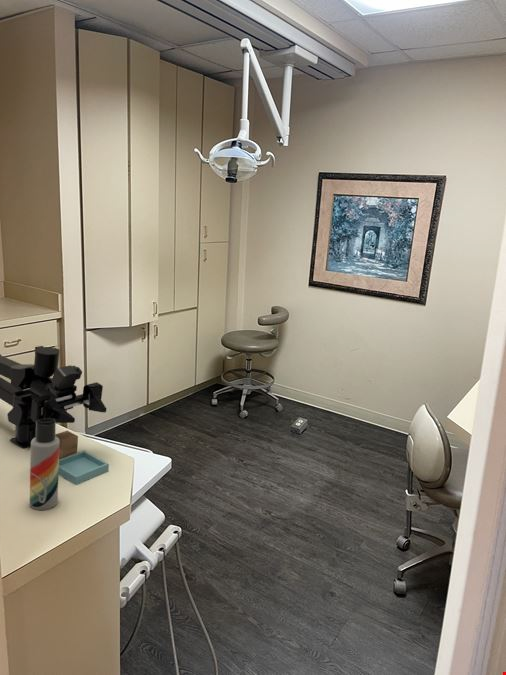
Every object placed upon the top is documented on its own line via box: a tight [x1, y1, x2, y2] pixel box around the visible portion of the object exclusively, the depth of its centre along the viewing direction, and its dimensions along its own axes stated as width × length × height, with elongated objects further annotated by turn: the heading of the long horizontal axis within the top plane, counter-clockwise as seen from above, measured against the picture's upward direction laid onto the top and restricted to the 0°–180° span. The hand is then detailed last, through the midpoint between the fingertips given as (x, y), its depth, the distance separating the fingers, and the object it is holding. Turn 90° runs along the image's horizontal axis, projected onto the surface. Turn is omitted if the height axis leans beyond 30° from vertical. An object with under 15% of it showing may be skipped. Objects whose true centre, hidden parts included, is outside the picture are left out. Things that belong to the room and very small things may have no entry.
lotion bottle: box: [29, 418, 60, 511], centre depth 108 cm, size 6×6×20 cm
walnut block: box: [55, 430, 79, 460], centre depth 130 cm, size 4×4×6 cm
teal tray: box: [58, 450, 110, 486], centre depth 125 cm, size 10×10×2 cm
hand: (90, 415), depth 120 cm, fingers open, 9 cm apart
